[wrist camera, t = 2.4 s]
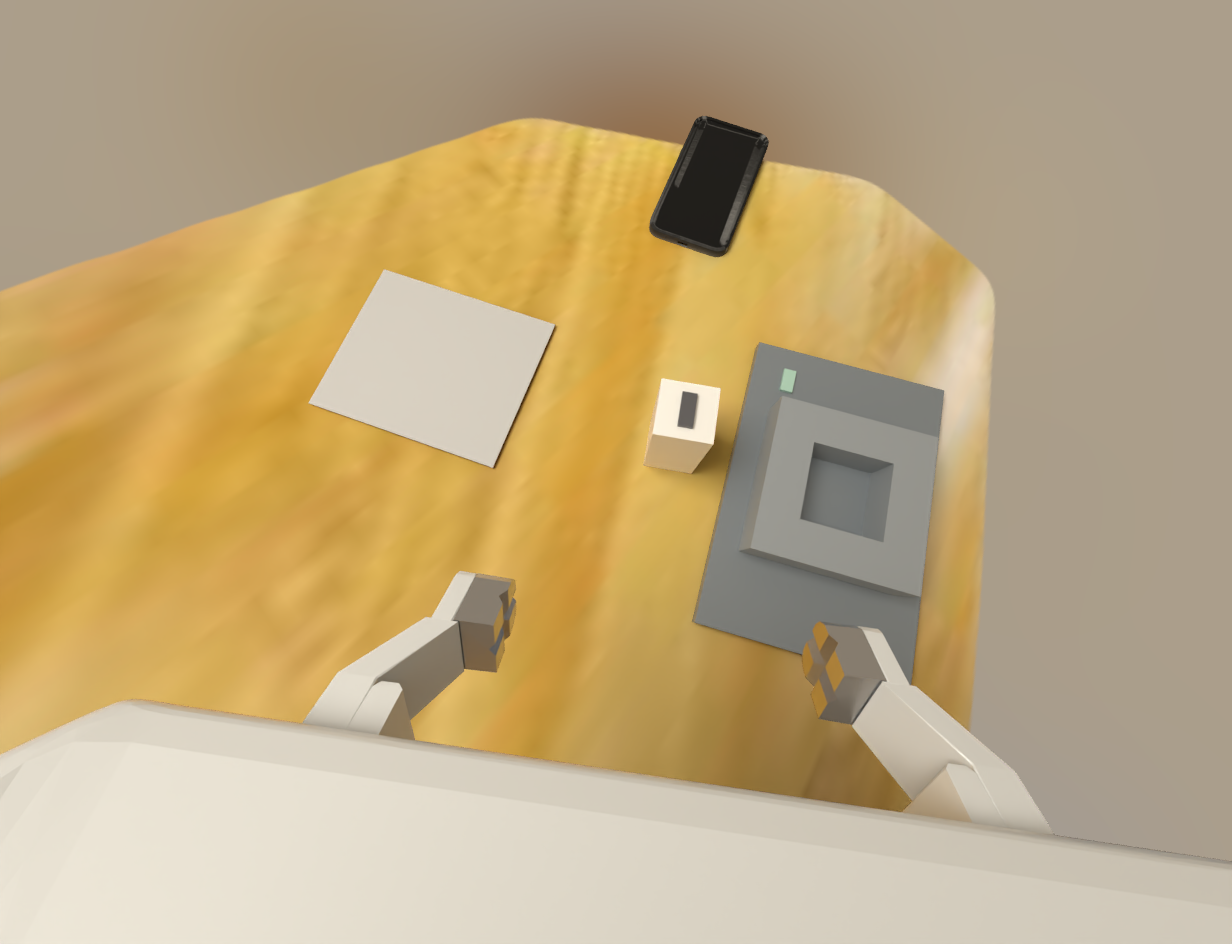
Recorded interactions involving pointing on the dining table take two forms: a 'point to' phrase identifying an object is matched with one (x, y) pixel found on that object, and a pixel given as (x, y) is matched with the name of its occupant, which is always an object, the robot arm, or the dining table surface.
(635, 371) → the dining table surface
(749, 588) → the power dock
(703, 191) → the phone
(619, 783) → the robot arm
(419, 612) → the dining table surface
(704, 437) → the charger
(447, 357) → the paper stack
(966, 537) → the dining table surface
